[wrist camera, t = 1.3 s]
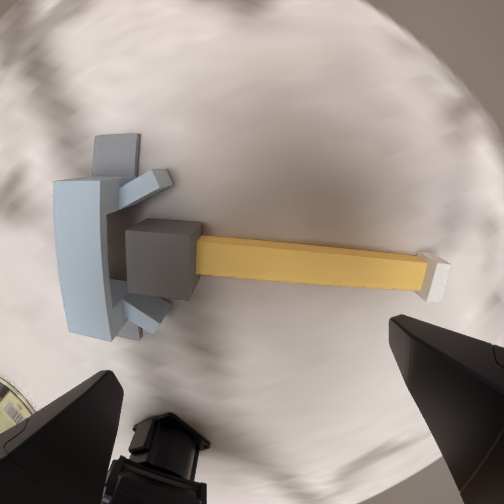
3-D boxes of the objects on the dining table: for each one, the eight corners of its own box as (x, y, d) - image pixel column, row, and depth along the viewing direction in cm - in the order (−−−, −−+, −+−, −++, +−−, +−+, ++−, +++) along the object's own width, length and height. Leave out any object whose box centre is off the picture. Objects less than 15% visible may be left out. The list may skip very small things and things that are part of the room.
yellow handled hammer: (432, 246, 20) (460, 262, 16) (421, 292, 21) (445, 314, 17) (148, 218, 20) (125, 230, 16) (148, 271, 21) (127, 292, 17)
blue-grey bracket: (177, 134, 18) (150, 123, 13) (173, 341, 23) (154, 383, 17) (98, 136, 18) (56, 131, 13) (106, 330, 22) (77, 365, 17)
